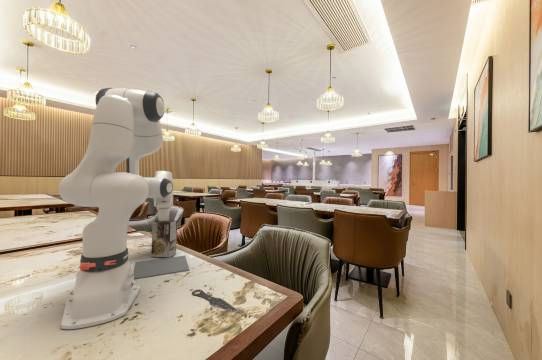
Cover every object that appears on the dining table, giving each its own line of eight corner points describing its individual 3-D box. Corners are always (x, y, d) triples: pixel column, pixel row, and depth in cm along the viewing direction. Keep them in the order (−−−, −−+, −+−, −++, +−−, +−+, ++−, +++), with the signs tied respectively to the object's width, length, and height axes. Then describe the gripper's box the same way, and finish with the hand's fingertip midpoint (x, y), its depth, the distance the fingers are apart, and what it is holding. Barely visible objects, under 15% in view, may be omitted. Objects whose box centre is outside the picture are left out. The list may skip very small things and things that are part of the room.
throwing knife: (199, 289, 77) (199, 287, 77) (244, 310, 66) (245, 308, 66) (188, 295, 73) (188, 293, 73) (234, 317, 62) (234, 315, 62)
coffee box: (176, 254, 109) (178, 220, 110) (169, 257, 103) (170, 222, 103) (158, 252, 110) (160, 219, 111) (150, 256, 104) (152, 221, 104)
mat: (189, 270, 91) (189, 269, 91) (131, 279, 82) (131, 278, 82) (185, 256, 106) (185, 255, 106) (135, 262, 97) (135, 262, 97)
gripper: (156, 200, 123) (156, 225, 124) (156, 205, 105) (156, 234, 105) (169, 200, 126) (169, 224, 127) (171, 204, 108) (171, 233, 108)
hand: (163, 229), depth 116 cm, fingers closed
